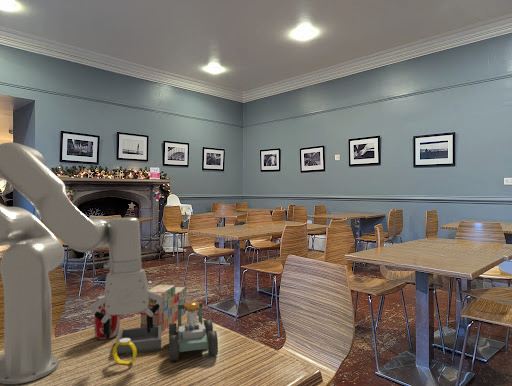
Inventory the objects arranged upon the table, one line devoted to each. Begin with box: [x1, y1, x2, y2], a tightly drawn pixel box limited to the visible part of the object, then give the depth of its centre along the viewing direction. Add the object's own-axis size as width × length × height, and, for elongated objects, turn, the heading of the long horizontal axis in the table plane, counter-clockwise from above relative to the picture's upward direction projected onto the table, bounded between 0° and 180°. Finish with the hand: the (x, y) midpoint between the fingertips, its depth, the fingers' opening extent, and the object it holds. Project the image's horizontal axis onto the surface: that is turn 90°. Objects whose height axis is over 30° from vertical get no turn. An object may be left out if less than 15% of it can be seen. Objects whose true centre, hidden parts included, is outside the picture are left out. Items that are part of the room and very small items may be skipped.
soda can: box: [94, 293, 121, 340], centre depth 104 cm, size 7×7×12 cm
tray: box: [115, 325, 162, 356], centre depth 97 cm, size 12×11×3 cm
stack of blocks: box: [139, 284, 187, 334], centre depth 115 cm, size 21×6×12 cm, turn 169°
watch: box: [112, 338, 138, 366], centre depth 86 cm, size 6×3×6 cm, turn 80°
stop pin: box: [184, 300, 199, 331], centre depth 94 cm, size 4×4×8 cm
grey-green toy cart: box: [168, 301, 219, 362], centre depth 94 cm, size 12×15×11 cm
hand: (129, 333), depth 87 cm, fingers open, 9 cm apart
